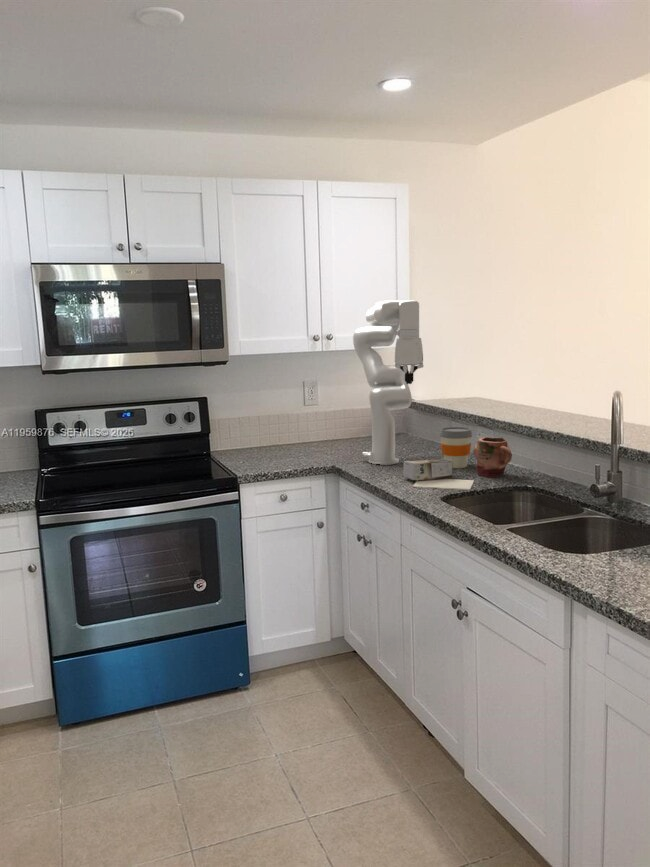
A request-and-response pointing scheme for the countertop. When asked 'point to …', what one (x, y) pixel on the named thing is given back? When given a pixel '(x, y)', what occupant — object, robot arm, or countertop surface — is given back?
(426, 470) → the coffee box
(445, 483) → the mat
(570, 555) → the countertop surface
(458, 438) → the reusable coffee cup
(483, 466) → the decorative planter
